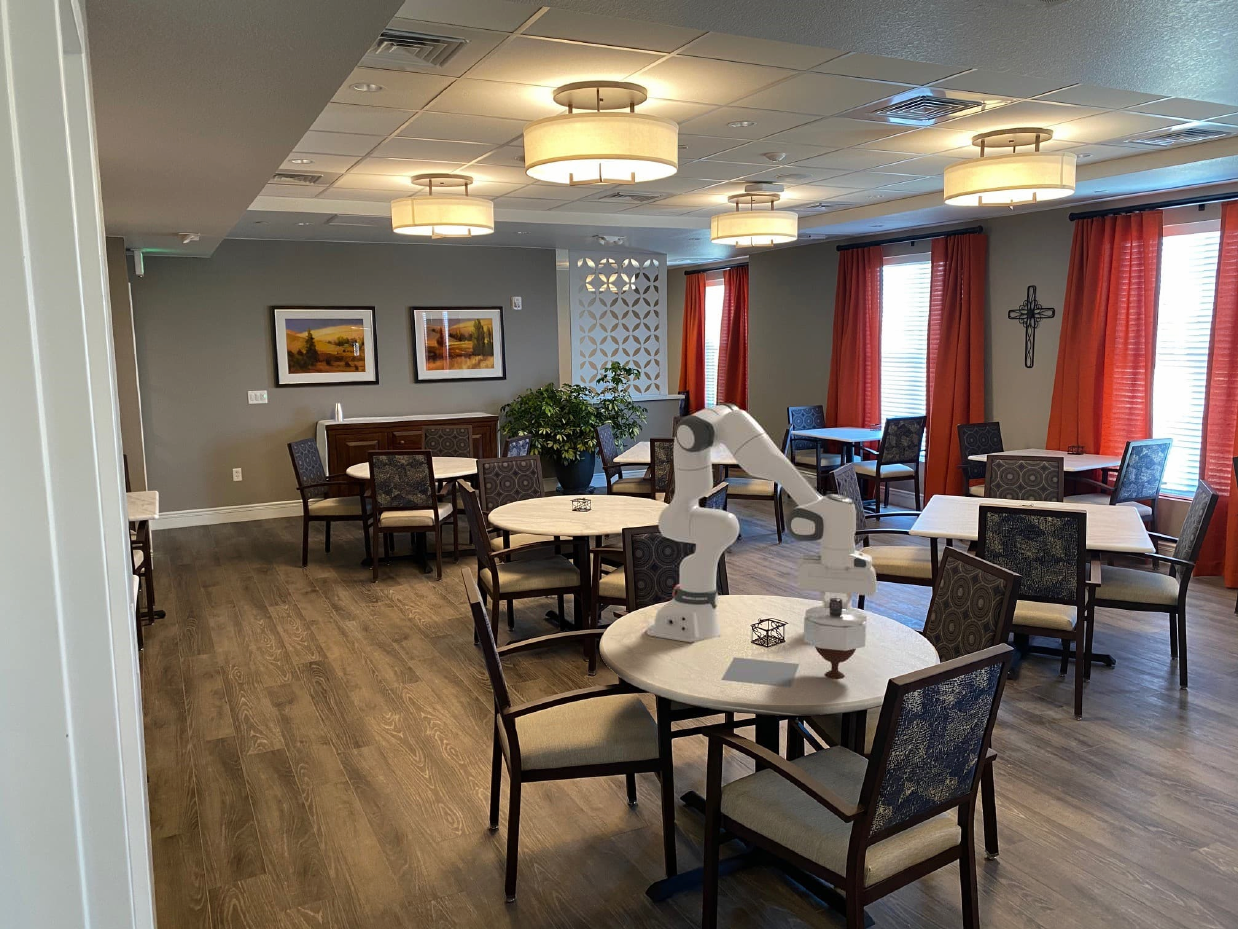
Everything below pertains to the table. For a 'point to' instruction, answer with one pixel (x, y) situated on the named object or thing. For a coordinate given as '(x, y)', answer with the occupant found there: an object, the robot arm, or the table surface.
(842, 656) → the ice cream bowl
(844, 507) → the robot arm
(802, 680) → the table surface
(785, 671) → the mat
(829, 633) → the cover
